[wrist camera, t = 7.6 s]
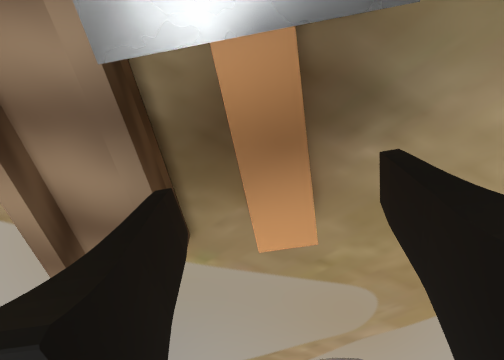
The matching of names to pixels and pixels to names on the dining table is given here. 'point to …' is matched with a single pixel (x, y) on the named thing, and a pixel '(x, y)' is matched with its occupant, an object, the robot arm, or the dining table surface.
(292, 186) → the shaft
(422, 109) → the dining table surface
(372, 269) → the dining table surface
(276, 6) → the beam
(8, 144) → the tray
